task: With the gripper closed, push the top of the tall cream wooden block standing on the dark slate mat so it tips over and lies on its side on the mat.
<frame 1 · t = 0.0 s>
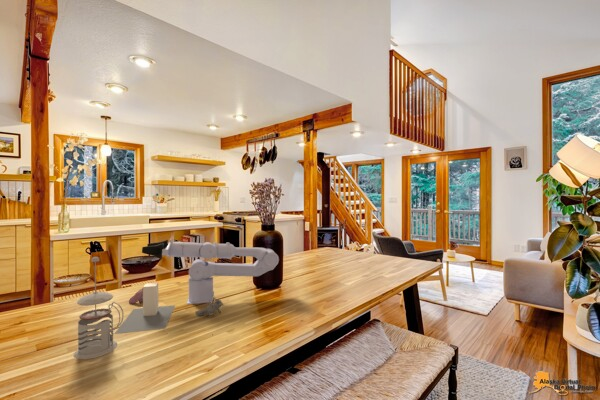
hand: (144, 248, 111), 22 cm above the table, tool horizontal, fingers open, 7 cm apart
elephant figurine: (210, 318, 100), on the table
french press: (99, 349, 79), on the table
video game controller: (143, 301, 117), on the table
cream block: (151, 313, 103), resting on slate mat
slate mat: (148, 319, 99), on the table
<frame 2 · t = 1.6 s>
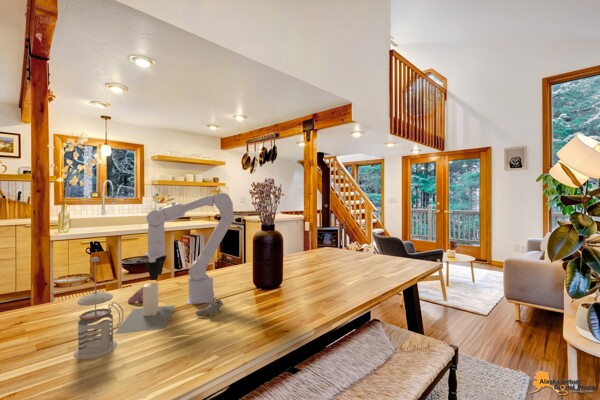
hand: (156, 277, 112), 10 cm above the table, tool pointing down, fingers open, 7 cm apart
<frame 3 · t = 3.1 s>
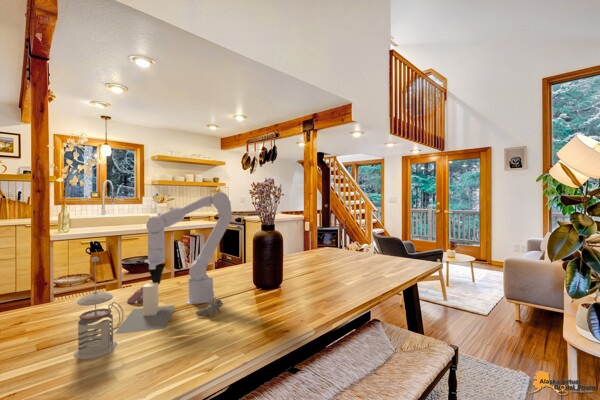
hand: (156, 284, 112), 8 cm above the table, tool pointing down, fingers closed
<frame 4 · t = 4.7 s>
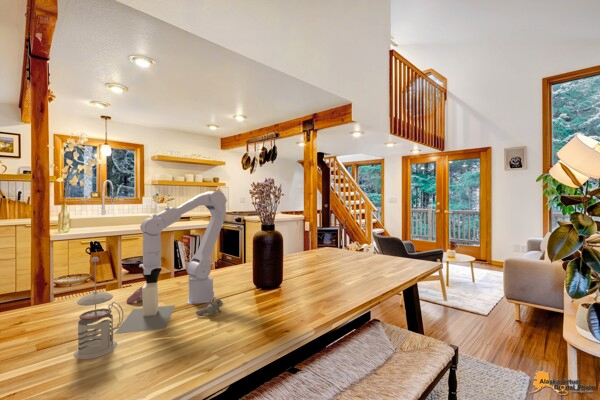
hand: (152, 289, 105), 8 cm above the table, tool pointing down, fingers closed
cream block: (150, 312, 103), point 1 cm above the table, tilted 7°, touching slate mat
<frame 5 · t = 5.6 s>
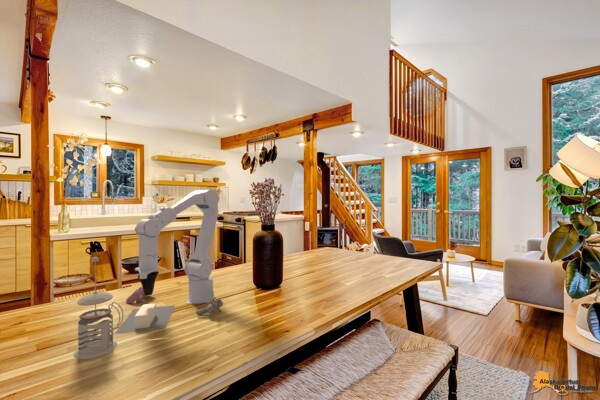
hand: (148, 294, 100), 8 cm above the table, tool pointing down, fingers closed
cream block: (149, 309, 101), point 2 cm above the table, tilted 90°, touching slate mat
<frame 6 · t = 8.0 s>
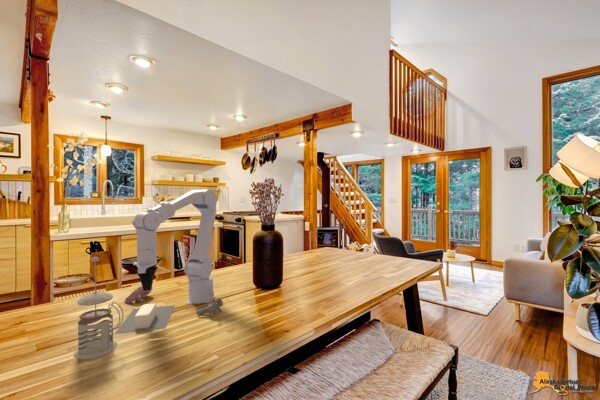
hand: (147, 289, 97), 10 cm above the table, tool pointing down, fingers closed
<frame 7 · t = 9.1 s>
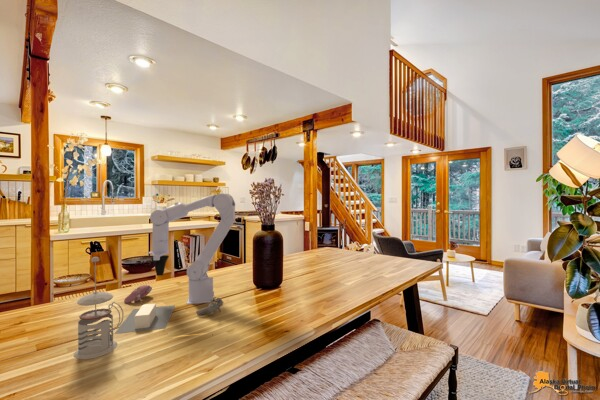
hand: (160, 275, 115), 10 cm above the table, tool pointing down, fingers closed
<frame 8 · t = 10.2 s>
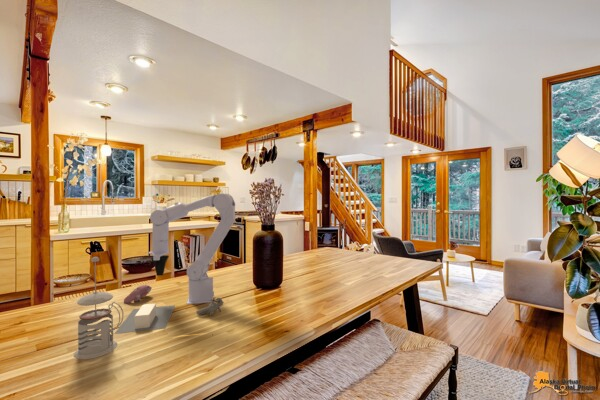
hand: (160, 275, 115), 10 cm above the table, tool pointing down, fingers closed
at the end: cream block tilted 90°; cream block inside the target area (1.5 cm from its centre), point 2.4 cm above the table; cream block touching slate mat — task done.
